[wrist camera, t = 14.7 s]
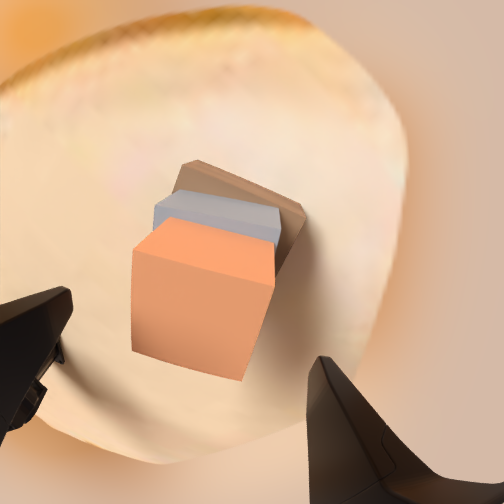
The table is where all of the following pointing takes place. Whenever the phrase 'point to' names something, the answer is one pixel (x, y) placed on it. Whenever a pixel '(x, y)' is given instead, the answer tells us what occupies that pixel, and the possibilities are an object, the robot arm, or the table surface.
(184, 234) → the terracotta block
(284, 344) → the table surface
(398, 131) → the table surface
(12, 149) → the table surface
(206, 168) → the walnut base
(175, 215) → the grey block
